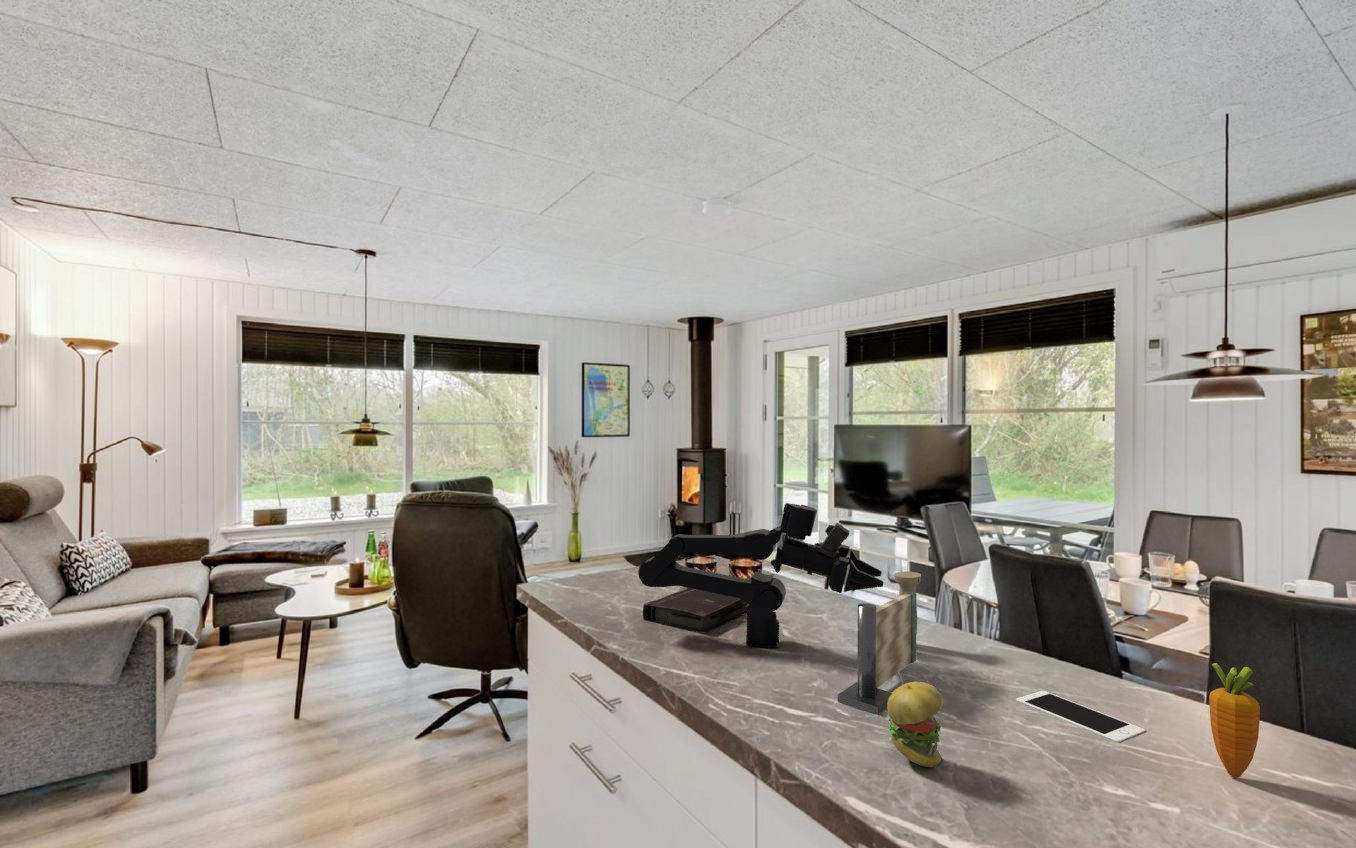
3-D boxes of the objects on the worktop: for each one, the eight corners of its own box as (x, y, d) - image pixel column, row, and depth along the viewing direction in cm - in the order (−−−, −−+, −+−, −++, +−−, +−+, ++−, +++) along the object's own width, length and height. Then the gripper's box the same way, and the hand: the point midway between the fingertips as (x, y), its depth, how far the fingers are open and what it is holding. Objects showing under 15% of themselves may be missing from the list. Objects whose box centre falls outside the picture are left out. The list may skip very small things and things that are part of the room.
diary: (641, 622, 148) (641, 601, 148) (699, 600, 168) (699, 581, 168) (706, 637, 137) (706, 614, 137) (760, 611, 157) (760, 591, 157)
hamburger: (949, 779, 81) (949, 687, 81) (891, 773, 82) (892, 682, 82) (935, 749, 88) (935, 665, 88) (882, 744, 89) (883, 661, 90)
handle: (925, 644, 132) (925, 574, 132) (910, 651, 127) (911, 579, 128) (904, 638, 135) (904, 570, 136) (889, 645, 131) (889, 574, 131)
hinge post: (877, 714, 99) (878, 614, 99) (837, 701, 103) (838, 606, 104) (895, 700, 104) (895, 605, 104) (856, 689, 109) (856, 598, 109)
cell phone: (1118, 745, 90) (1118, 741, 90) (1014, 702, 105) (1014, 698, 105) (1146, 733, 94) (1146, 729, 94) (1042, 693, 108) (1042, 690, 108)
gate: (876, 690, 104) (876, 613, 105) (866, 687, 106) (866, 611, 106) (916, 661, 118) (916, 593, 118) (906, 658, 119) (907, 591, 119)
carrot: (1199, 768, 84) (1199, 657, 84) (1232, 767, 84) (1232, 657, 84) (1235, 790, 79) (1235, 672, 79) (1271, 788, 79) (1270, 671, 79)
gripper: (811, 526, 120) (894, 549, 116) (817, 514, 138) (889, 533, 134) (798, 581, 121) (880, 605, 116) (806, 562, 139) (877, 582, 134)
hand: (882, 578), depth 125 cm, fingers open, 9 cm apart
